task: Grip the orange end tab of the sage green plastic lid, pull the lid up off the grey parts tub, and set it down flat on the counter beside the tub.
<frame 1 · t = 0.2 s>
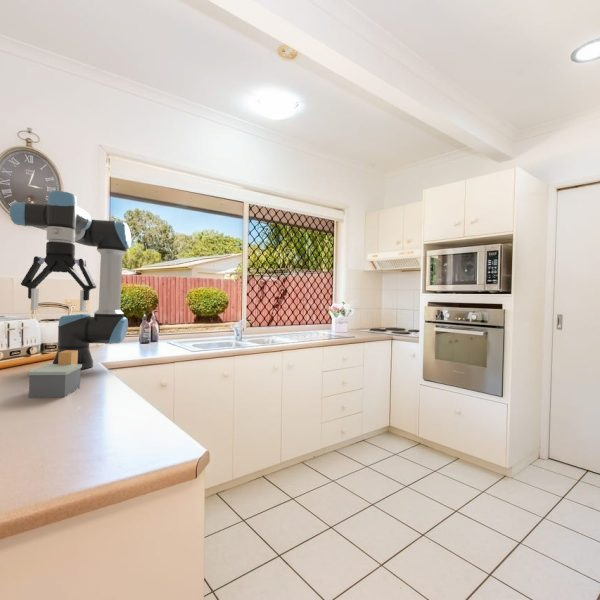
hand: (58, 310, 115), 27 cm above the counter, tool pointing down, fingers open, 13 cm apart
tub: (55, 392, 120), on the counter
lid: (56, 373, 120), point 6 cm above the counter, touching tub
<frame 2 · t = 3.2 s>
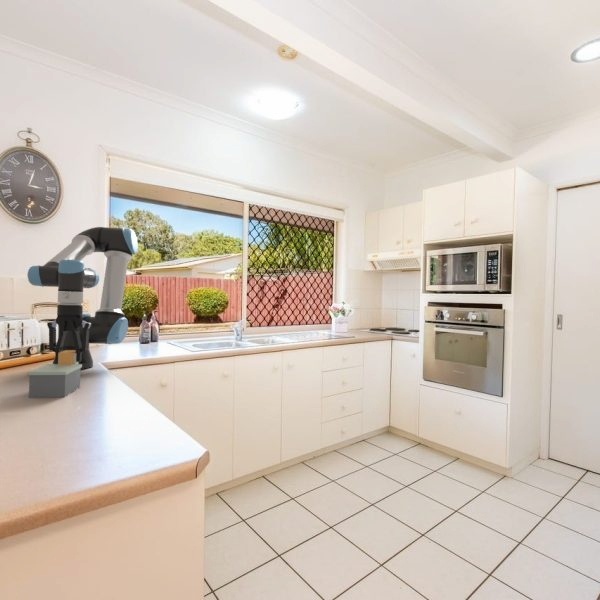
hand: (68, 370, 128), 5 cm above the counter, tool pointing down, fingers closed on lid, 4 cm apart
lid: (56, 373, 120), point 6 cm above the counter, touching gripper, tub
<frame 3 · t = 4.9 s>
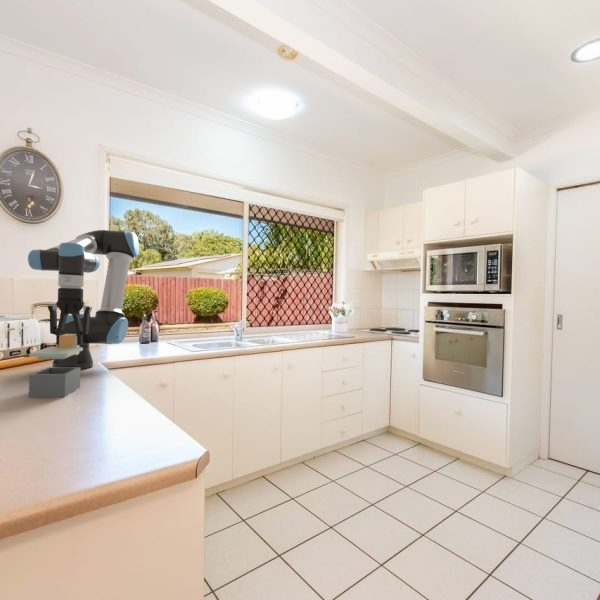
hand: (69, 354, 129), 11 cm above the counter, tool pointing down, fingers closed on lid, 4 cm apart
lid: (57, 356, 120), point 12 cm above the counter, touching gripper
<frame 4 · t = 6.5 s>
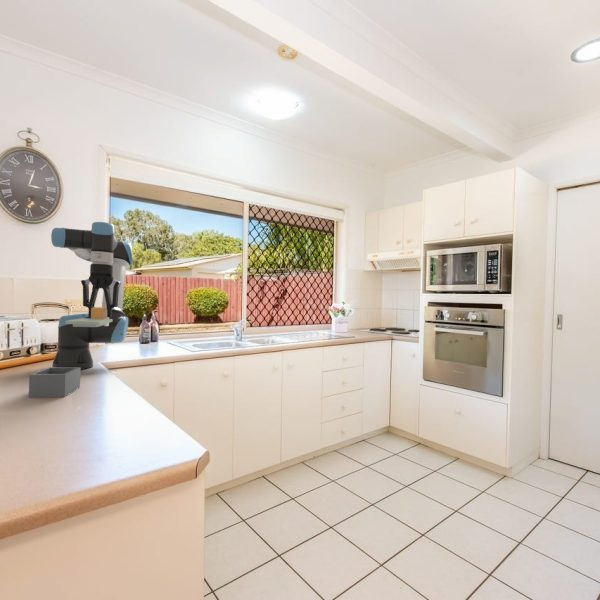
hand: (99, 325, 139), 20 cm above the counter, tool pointing down, fingers closed on lid, 4 cm apart
lid: (90, 325, 130), point 21 cm above the counter, touching gripper
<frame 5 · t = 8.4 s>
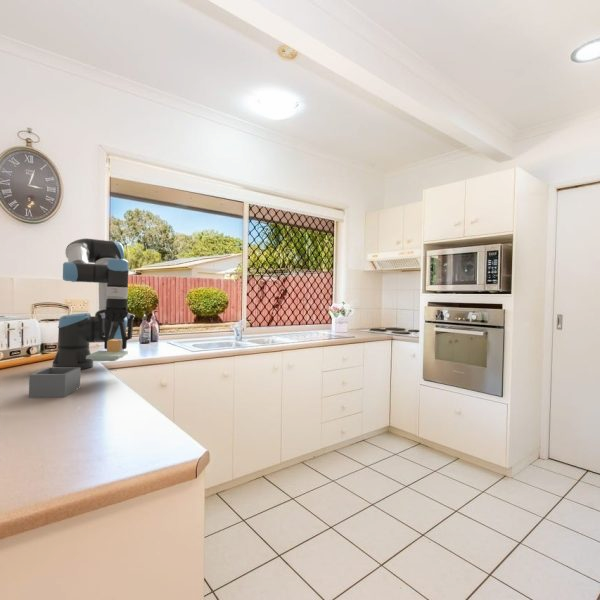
hand: (115, 357, 145), 8 cm above the counter, tool pointing down, fingers closed on lid, 4 cm apart
lid: (107, 358, 136), point 8 cm above the counter, touching gripper
when the fingers open (2 cm above the counter, at t = 9.9 s): lid drops 3 cm, on the counter.
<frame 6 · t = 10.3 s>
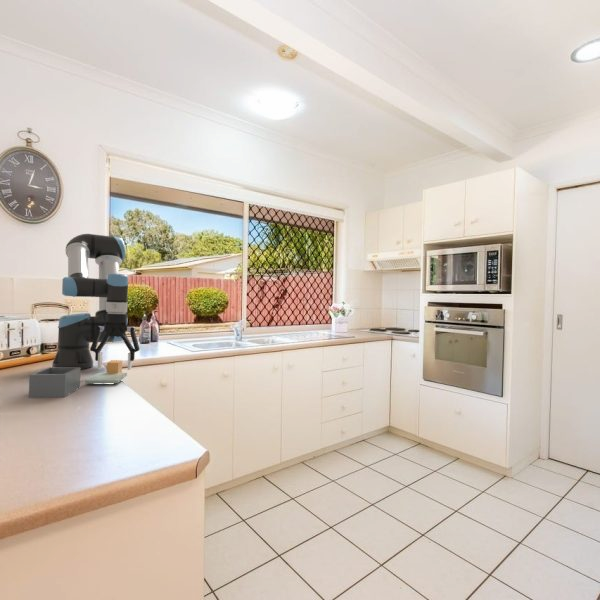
hand: (114, 369, 145), 3 cm above the counter, tool pointing down, fingers open, 10 cm apart
lid: (107, 381, 136), on the counter
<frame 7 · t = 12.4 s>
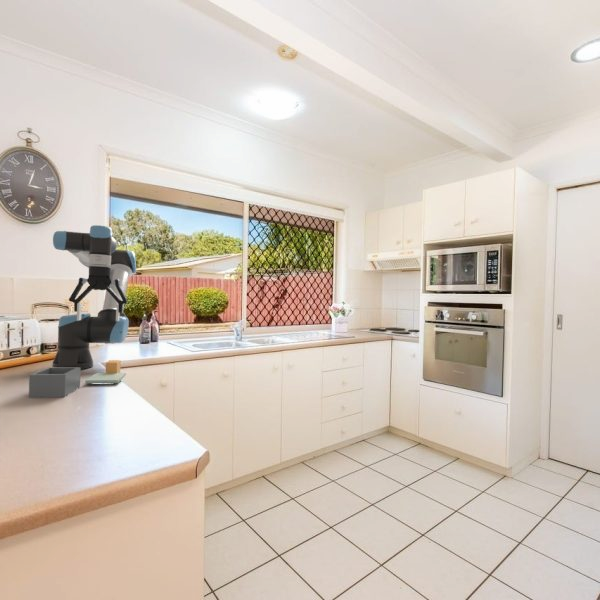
hand: (98, 320, 143), 22 cm above the counter, tool pointing down, fingers open, 13 cm apart
nothing on the counter moved.
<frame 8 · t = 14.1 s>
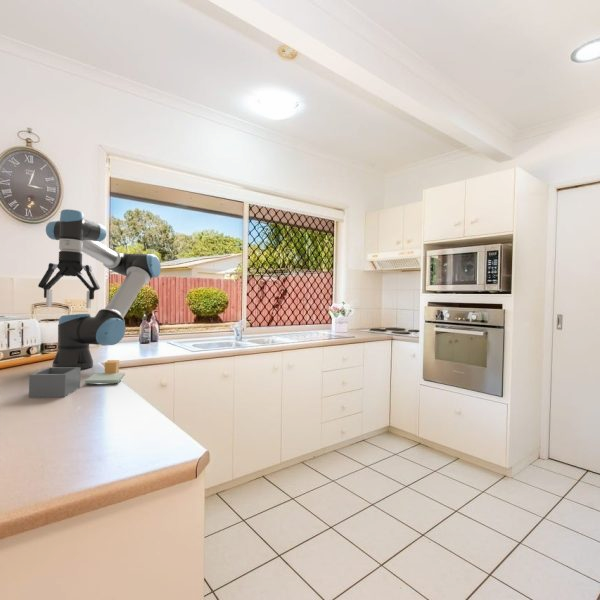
hand: (68, 307, 139), 27 cm above the counter, tool pointing down, fingers open, 13 cm apart
nothing on the counter moved.
at the end: lid touching counter; lid inside the target area (1.0 cm from its centre), on the counter; lid tilted 0° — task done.
